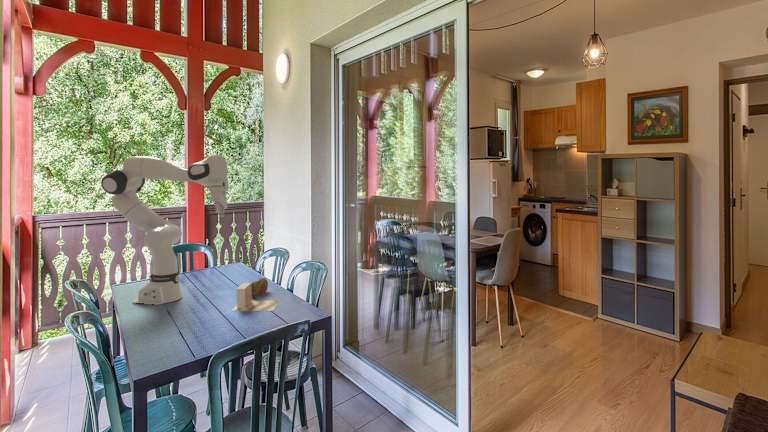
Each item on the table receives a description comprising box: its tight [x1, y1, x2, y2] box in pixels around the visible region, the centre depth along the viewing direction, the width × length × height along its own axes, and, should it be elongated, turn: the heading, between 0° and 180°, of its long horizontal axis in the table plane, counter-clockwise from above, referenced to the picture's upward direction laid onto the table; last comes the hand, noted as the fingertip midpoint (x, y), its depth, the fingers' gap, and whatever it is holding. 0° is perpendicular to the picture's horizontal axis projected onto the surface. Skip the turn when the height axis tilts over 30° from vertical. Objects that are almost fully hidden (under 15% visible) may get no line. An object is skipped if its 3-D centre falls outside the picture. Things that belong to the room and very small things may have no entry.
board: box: [230, 299, 281, 312], centre depth 187 cm, size 20×15×1 cm
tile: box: [236, 282, 253, 309], centre depth 187 cm, size 4×10×10 cm, turn 3°
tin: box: [251, 277, 269, 298], centre depth 205 cm, size 15×3×8 cm, turn 168°
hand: (220, 214), depth 182 cm, fingers open, 8 cm apart
